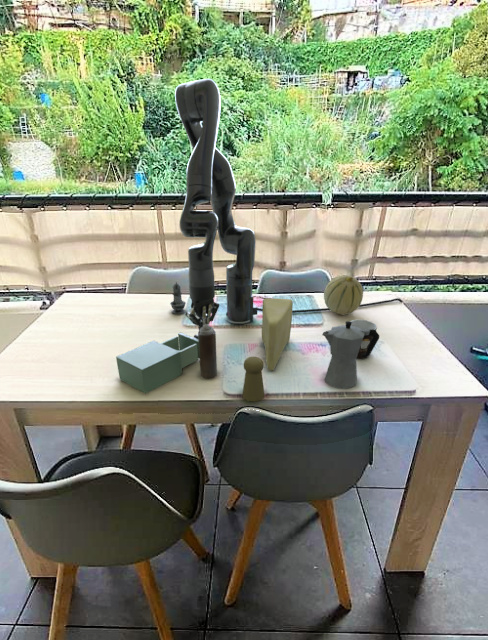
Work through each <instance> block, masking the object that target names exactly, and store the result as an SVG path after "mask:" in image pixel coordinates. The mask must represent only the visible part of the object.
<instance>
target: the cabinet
mask: <svg viewBox="0 0 488 640" xmlns="http://www.w3.org/2000/svg"><path fill="white" fill-rule="evenodd" d="M161 343H162V342H158V341H156V340H152V341H149V342H147V343H145V344H142V345H140V346H138V347H135V348H133V349H131V350H128V351H126V352H124V353H121V354H119V355H117V356H115V359H116V364H117V372H118V376H119V380H120V381H122V382H124V383H125V384H127V385H129V386H131V387H133V388H134V389H136V390H138V391H140V392H142V393H144V394H147V393H149V392H152V391H153V390H155V389H157V388H159V387H161V386H163V385H165V384H166V383H168V382H170V381H172V380H174V379H176V378H178V377H180V376H181V375H183V370H182V369H183V368H181V357H180V352H179V351H177V350H175V349H172V348H170V347H168V346H166V345H163V344H161Z"/></svg>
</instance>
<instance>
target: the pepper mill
mask: <svg viewBox="0 0 488 640" xmlns="http://www.w3.org/2000/svg"><path fill="white" fill-rule="evenodd" d="M197 335H198V340H199V357H200V359H199V371H200V377H201V378H202V379H205V380H213V379H215V378H216V377H217V376H218V360H217V359H218V358H217V357H218V356H217V334H216V331H215V329H214V327H213V326H210V324H209V325H208V324H205V325H204V326H203V327H201V328H200V331H199V330H198V332H197Z"/></svg>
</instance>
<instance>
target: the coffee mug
mask: <svg viewBox="0 0 488 640" xmlns="http://www.w3.org/2000/svg"><path fill="white" fill-rule="evenodd" d="M350 322H352V324H351V326H354V327H357V328H359V329H361V330H362V329H368V330H371V329H374V330H376V331H377V328H378V325H377V324H376V323H375V322H373V321H370V320H366V319H352V320H350ZM372 338H373V336H369V337H363V340H362V343H361V346H360V349H359V352H358V355H357V358H356V360H364V359H367V358H368V357H362V356H361V354H365V353H366V352H367V348H368V346H369V345H370V342H371V340H372Z"/></svg>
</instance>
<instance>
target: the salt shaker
mask: <svg viewBox="0 0 488 640" xmlns="http://www.w3.org/2000/svg"><path fill="white" fill-rule="evenodd" d="M181 291H182V289H181V284H179V283H178V282H177V281H176V282H175V284H173V285H172V292H173V293H172V296H173V300H172V301H171V302H170V303H169V305H170V306H171V308H172V309H173V310H172V311H171V314H173V315H184V314H185V313H186V312H187V311H186V310H185V307H186V301H184V300H183V299H182V294H183V293H182V292H181Z"/></svg>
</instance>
